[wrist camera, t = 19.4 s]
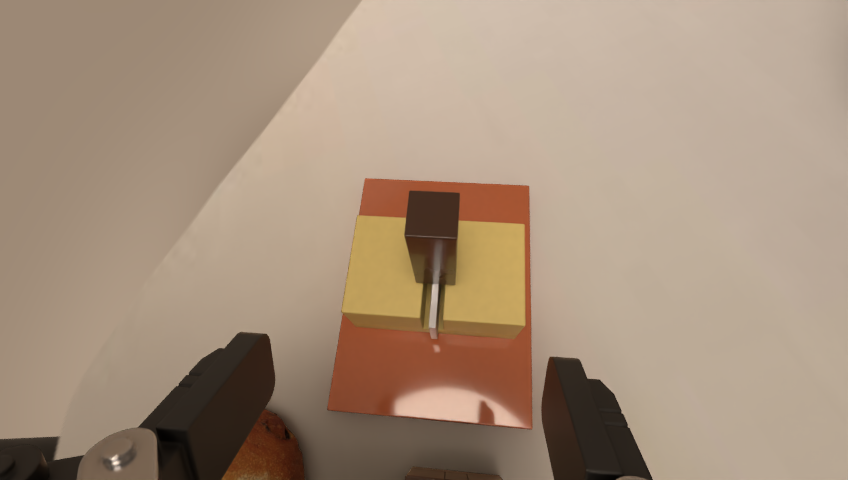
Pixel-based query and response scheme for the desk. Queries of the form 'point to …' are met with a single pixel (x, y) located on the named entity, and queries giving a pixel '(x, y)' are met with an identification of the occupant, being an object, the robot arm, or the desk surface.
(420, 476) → the brown slotted slab
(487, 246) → the butter
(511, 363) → the butter dish
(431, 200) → the knife
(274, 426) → the bread roll
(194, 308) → the desk surface
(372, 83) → the desk surface
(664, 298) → the desk surface
